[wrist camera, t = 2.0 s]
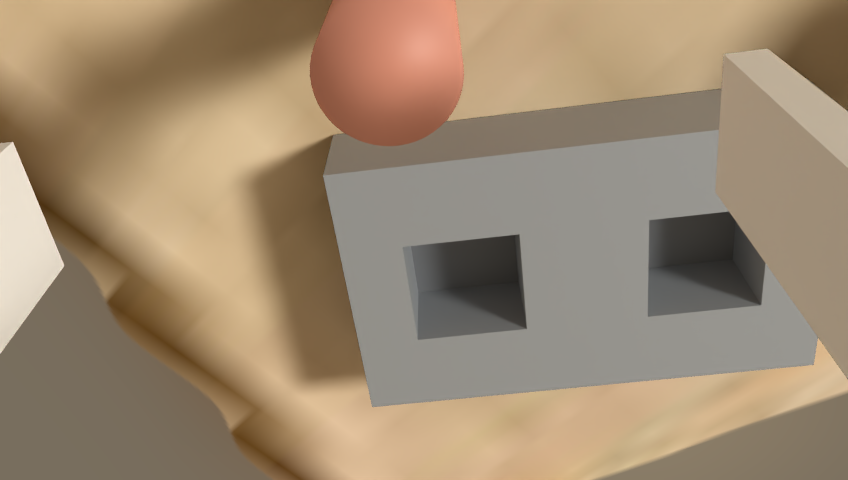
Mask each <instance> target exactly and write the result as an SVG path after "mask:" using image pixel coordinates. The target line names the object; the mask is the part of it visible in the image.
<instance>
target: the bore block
mask: <svg viewBox="0 0 848 480" xmlns="http://www.w3.org/2000/svg"><path fill="white" fill-rule="evenodd" d="M807 80H808V81H810V80H809V79H807ZM810 82H811V81H810ZM811 83H812V82H811ZM812 84H813V85H815V84H814V83H812ZM815 86H816V85H815ZM816 87H817V86H816ZM817 88H818V87H817ZM818 89H820V88H818ZM820 90H821V89H820ZM821 91H822V90H821ZM822 92H823V91H822ZM824 93H825V92H824ZM825 94H826V93H825ZM826 95H827V94H826ZM827 96H828V95H827ZM830 98H831V97H830ZM831 99H832V98H831ZM832 100H833V99H832ZM835 102H836V101H835ZM836 103H837V102H836ZM720 105H721V89H716V90H707V91H699V92H690V93H682V94H674V95H665V96H657V97H648V98H640V99H631V100H623V101H615V102H606V103H598V104H589V105H581V106H573V107H564V108H556V109H547V110H539V111H530V112H522V113H514V114H505V115H497V116H488V117H480V118H472V119H463V120H455V121H446V122H444V123H443V124H442V125H441V126H440V127H439V128H438V129H437V130H435V131H434V132H433V133H431V134H430V135H428V136H426V137H425V138H422V139H420V140H418V141H416V142H412V143H409V144H405V145H399V146H378V145H373V144H368V143H365V142H362V141H359V140H357V139H355V138H352V137H350V136H349V135H347V134H346V133H345V134H337V135H333V138H332V142H331V146H330V150H329V154H328V158H327V162H326V166H325V170H324V174H323V178H324V182H325V187H326V192H327V196H328V201H329V206H330V211H331V215H332V220H333V225H334V229H335V234H336V239H337V244H338V248H339V253H340V258H341V262H342V267H343V272H344V277H345V281H346V286H347V291H348V295H349V300H350V305H351V309H352V314H353V319H354V324H355V328H356V333H357V338H358V342H359V347H360V352H361V357H362V361H363V366H364V371H365V375H366V380H367V385H368V389H369V394H370V399H371V404H372V407H378V406H389V405H399V404H410V403H420V402H431V401H441V400H452V399H462V398H472V397H483V396H493V395H504V394H514V393H525V392H535V391H546V390H556V389H566V388H577V387H587V386H598V385H608V384H619V383H629V382H640V381H650V380H660V379H671V378H681V377H692V376H702V375H713V374H723V373H734V372H744V371H754V370H765V369H775V368H786V367H796V366H807V365H814V359H815V353H816V346H817V339H818V337H817V335H816V334H815V332H814V331H813V330H812V328H811V327H810V325H809V324H808V322H807V321H806V320H805V318H804V317H803V315H802V314H801V313H800V311H799V310H798V308H797V307H796V305H795V304H794V303H793V301H792V300H791V298H790V297H789V296H788V294H787V293H786V291H785V290H784V289H783V287H782V286H781V284H780V283H779V281H778V280H777V279H776V277H775V276H774V274H773V273H772V272H771V270H770V269H769V267H768V266H767V264H766V263H765V262H764V260H763V259H762V257H761V256H760V255H759V253H758V252H757V250H756V249H755V248H754V246H753V245H752V243H751V242H750V240H749V239H748V238H747V236H746V235H745V233H744V232H743V231H742V229H741V228H740V226H739V225H738V223H737V222H736V221H735V219H734V218H733V216H732V215H731V214H730V212H729V211H728V209H727V208H726V206H725V205H724V204H723V202H722V201H721V199H720V198H719V197H718V195H717V194H716V192H715V189H716V172H717V155H718V139H719V122H720ZM840 106H841V105H840ZM841 107H842V106H841ZM846 111H847V110H846Z"/></svg>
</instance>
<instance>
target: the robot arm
mask: <svg viewBox="0 0 848 480" xmlns="http://www.w3.org/2000/svg"><path fill="white" fill-rule="evenodd" d="M715 192H716V194H717V195H718V197H719V198H720V199H721V201H722V202H723V204H724V205H725V206H726V208H727V209H728V211H729V212H730V214H731V215H732V216H733V218H734V219H735V221H736V222H737V223H738V225H739V226H740V228H741V229H742V231H743V232H744V233H745V235H746V236H747V238H748V239H749V240H750V242H751V243H752V245H753V246H754V248H755V249H756V250H757V252H758V253H759V255H760V256H761V257H762V259H763V260H764V262H765V263H766V264H767V266H768V267H769V269H770V270H771V272H772V273H773V274H774V276H775V277H776V279H777V280H778V281H779V283H780V284H781V286H782V287H783V289H784V290H785V291H786V293H787V294H788V296H789V297H790V298H791V300H792V301H793V303H794V304H795V305H796V307H797V308H798V310H799V311H800V313H801V314H802V315H803V317H804V318H805V320H806V321H807V322H808V324H809V325H810V327H811V328H812V330H813V331H814V332H815V334H816V335H817V337H818V338H819V339H820V341H821V342H822V344H823V345H824V346H825V348H826V349H827V351H828V352H829V354H830V355H831V356H832V358H833V359H834V361H835V362H836V363H837V365H838V366H839V368H840V369H841V371H842V372H843V373H844V375H845V376H846V378H847V379H848V111H846V110H845V109H844V108H843V107H841V106H840V105H839V104H838V103H836V102H835V101H834V100H832V99H831V98H830V97H829V96H827V95H826V94H825V93H824V92H822V91H821V90H820V89H818V88H817V87H816V86H815V85H813V84H812V83H811V82H810V81H808V80H807V79H806V78H804V77H803V76H802V75H801V74H799V73H798V72H797V71H796V70H794V69H793V68H792V67H790V66H789V65H788V64H787V63H785V62H784V61H783V60H781V59H780V58H779V57H778V56H776V55H775V54H774V53H773V52H771V51H770V50H769V49H760V50H752V51H744V52H736V53H727V54H724V55H723V72H722V89H721V105H720V122H719V139H718V155H717V172H716V189H715ZM63 267H64V264H63V261H62V259H61V257H60V254H59V252H58V249H57V247H56V245H55V242H54V240H53V237H52V235H51V233H50V230H49V228H48V225H47V223H46V220H45V218H44V216H43V213H42V211H41V208H40V206H39V204H38V201H37V199H36V196H35V194H34V192H33V189H32V187H31V184H30V182H29V179H28V177H27V175H26V172H25V170H24V167H23V165H22V163H21V160H20V158H19V155H18V153H17V151H16V148H15V146H14V143H13V142H7V143H0V353H1V352H2V350H3V349H4V347H5V346H6V345H7V343H8V342H9V341H10V339H11V338H12V337H13V335H14V334H15V333H16V331H17V330H18V328H19V327H20V326H21V324H22V323H23V321H24V320H25V319H26V318H27V316H28V315H29V313H30V312H31V311H32V309H33V308H34V307H35V305H36V304H37V302H38V301H39V300H40V298H41V297H42V296H43V294H44V293H45V292H46V290H47V289H48V287H49V286H50V285H51V283H52V282H53V281H54V279H55V278H56V276H57V275H58V274H59V272H60V271H61V270H62V268H63Z"/></svg>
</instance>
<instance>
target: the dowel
mask: <svg viewBox="0 0 848 480" xmlns="http://www.w3.org/2000/svg"><path fill="white" fill-rule="evenodd" d="M310 78H311V85H312V89H313V92H314V95H315V98H316V100H317V102H318V104H319V106H320V108H321V109H322V111H323V112H324V114H325V115H326V116H327V118H328V119H329V120H330V121H331V122H332V123H333V124H334V125H335V126H336V127H337V128H339V129H340V130H341V131H342V132H344V133H346V134H347V135H349V136H350V137H352V138H355V139H357V140H359V141H362V142H365V143H368V144H373V145H378V146H399V145H405V144H409V143H412V142H416V141H418V140H420V139H422V138H425V137H426V136H428V135H430V134H431V133H433V132H434V131H435V130H437V129H438V128H439V127H440V126H441V125H442V124H443V123H444V122H445V121H446V120H447V119H448V118H449V116H450V115H451V114H452V112H453V110H454V109H455V107H456V105H457V103H458V100H459V98H460V95H461V91H462V87H463V79H464V69H463V59H462V51H461V43H460V35H459V27H458V19H457V11H456V3H455V0H332V3H331V5H330V8H329V10H328V13H327V15H326V18H325V20H324V23H323V25H322V28H321V30H320V33H319V35H318V38H317V40H316V43H315V45H314V48H313V52H312V55H311V62H310Z"/></svg>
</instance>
